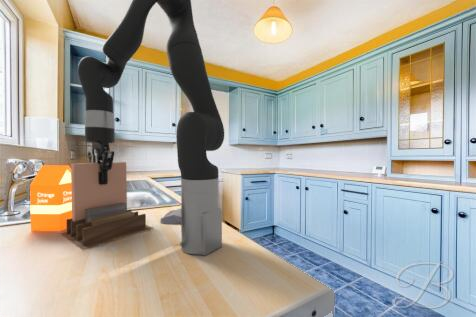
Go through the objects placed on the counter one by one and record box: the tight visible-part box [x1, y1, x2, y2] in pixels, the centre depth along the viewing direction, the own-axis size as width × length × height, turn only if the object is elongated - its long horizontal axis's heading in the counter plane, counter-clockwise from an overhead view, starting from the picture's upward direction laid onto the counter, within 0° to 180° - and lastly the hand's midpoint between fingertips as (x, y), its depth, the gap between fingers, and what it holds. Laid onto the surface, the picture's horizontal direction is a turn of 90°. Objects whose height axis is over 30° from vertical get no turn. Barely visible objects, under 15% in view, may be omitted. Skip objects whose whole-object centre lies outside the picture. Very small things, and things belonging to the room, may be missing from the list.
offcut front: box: [91, 210, 135, 226], centre depth 58 cm, size 3×10×5 cm, turn 144°
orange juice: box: [29, 164, 72, 232], centre depth 64 cm, size 8×9×20 cm
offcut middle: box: [85, 203, 128, 223], centre depth 61 cm, size 3×10×7 cm, turn 144°
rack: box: [59, 209, 155, 251], centre depth 60 cm, size 18×18×5 cm
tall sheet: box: [70, 161, 128, 221], centre depth 63 cm, size 2×14×16 cm, turn 144°
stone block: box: [159, 208, 181, 225], centre depth 72 cm, size 12×5×10 cm
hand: (101, 183), depth 63 cm, fingers closed on tall sheet, 2 cm apart
